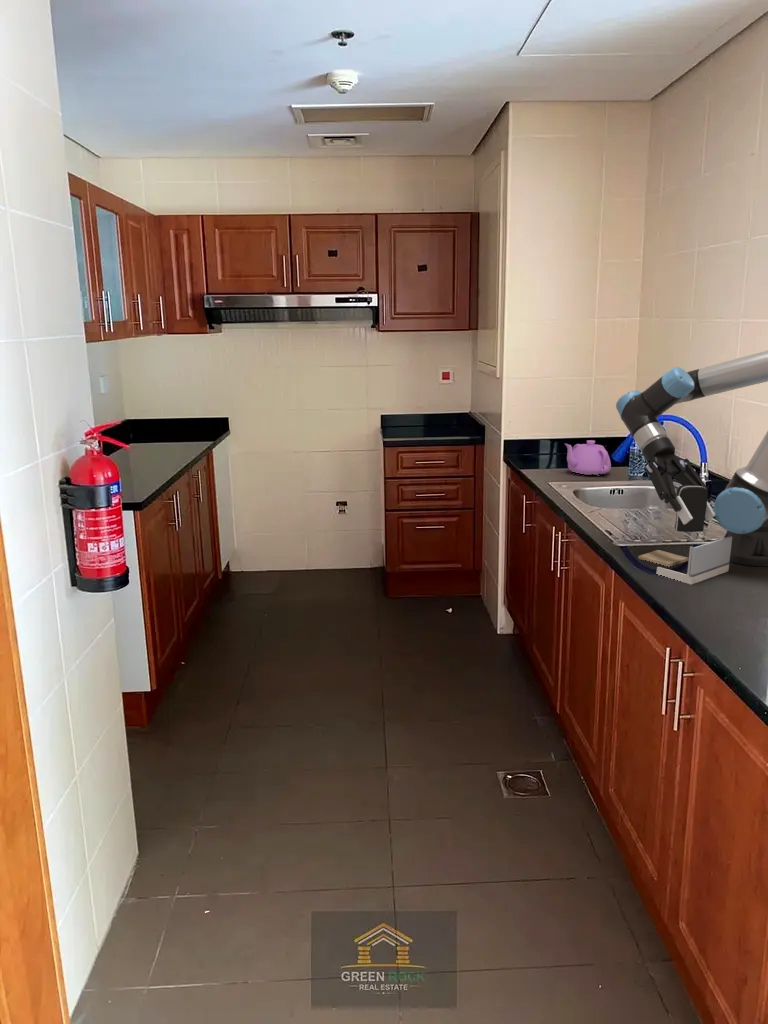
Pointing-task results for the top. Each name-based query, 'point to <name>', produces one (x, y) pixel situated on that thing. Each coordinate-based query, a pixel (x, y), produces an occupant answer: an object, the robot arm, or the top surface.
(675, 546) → the top surface
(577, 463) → the teapot
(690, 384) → the robot arm
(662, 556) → the oak pad
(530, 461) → the top surface
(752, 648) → the top surface
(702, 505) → the battery charger
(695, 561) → the legged metal plate
